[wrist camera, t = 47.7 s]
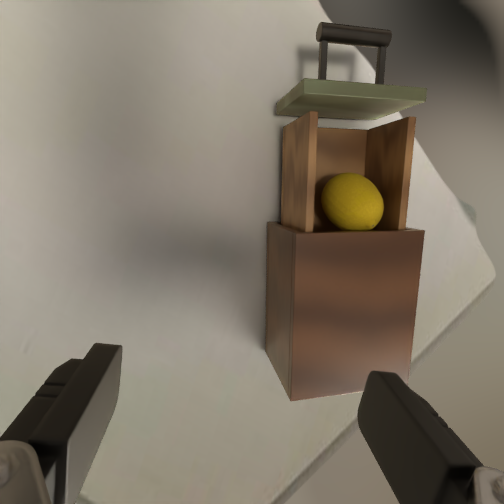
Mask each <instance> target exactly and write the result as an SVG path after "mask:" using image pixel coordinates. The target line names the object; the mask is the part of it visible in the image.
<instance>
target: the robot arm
mask: <svg viewBox="0 0 504 504" xmlns="http://www.w3.org/2000/svg"><path fill="white" fill-rule="evenodd" d="M121 362H122V346H121V345H113V344H102V343H95V344H94V345H93V346H92V348H91V349H90V351H89V352H88V353H87V355H86V356H85V358H84V359H70V360H69V361H67V362H65V363H64V364H62V365H61V366H59V367H57V368H56V369H55V370H54V371H53V372H52V374H51V375H50V376H49V377H48V379H47V380H46V381H45V383H44V385H42V386H41V387H40V388H39V390H38V391H37V392H36V394H35V396H33V397H32V398H31V400H30V401H29V402H28V403H27V405H26V406H25V407H24V408H23V410H22V411H21V412H20V413H19V415H18V416H17V417H16V418H15V420H14V421H13V422H12V423H11V425H10V426H9V427H8V428H7V430H6V431H5V432H4V433H3V435H2V436H1V437H0V504H75V502H76V500H77V498H78V495H79V493H80V491H81V488H82V486H83V484H84V481H85V479H86V476H87V474H88V472H89V469H90V467H91V465H92V462H93V460H94V458H95V455H96V453H97V450H98V448H99V446H100V443H101V441H102V439H103V436H104V434H105V432H106V429H107V427H108V424H109V422H110V420H111V417H112V415H113V413H114V410H115V407H116V403H117V399H118V394H119V385H120V374H121ZM358 424H359V428H360V430H361V432H362V434H363V436H364V438H365V440H366V442H367V443H368V445H369V447H370V449H371V451H372V453H373V455H374V457H375V458H376V460H377V462H378V464H379V466H380V468H381V470H382V472H383V473H384V475H385V477H386V479H387V481H388V483H389V485H390V486H391V488H392V490H393V492H394V494H395V496H396V498H397V499H398V501H399V503H400V504H504V472H503V471H500V470H498V469H495V468H491V467H485V466H483V464H482V463H481V462H480V461H479V460H478V459H477V458H476V457H475V455H474V454H473V453H472V452H471V451H470V450H469V448H467V446H466V445H465V444H464V443H463V442H462V441H461V440H460V438H459V437H458V436H457V435H456V434H455V433H454V432H453V430H452V429H451V428H448V425H447V424H446V422H445V421H444V420H443V419H442V418H441V417H439V416H438V413H437V412H436V411H435V410H434V409H433V408H432V407H431V405H430V404H429V403H428V402H427V401H426V400H424V399H423V398H422V397H420V396H419V395H418V394H416V393H415V392H414V391H412V390H411V389H410V388H409V387H408V386H407V385H406V383H405V382H404V381H403V380H402V379H401V378H400V376H399V375H398V374H396V373H394V372H384V371H371V372H370V373H369V375H368V378H367V381H366V385H365V388H364V391H363V395H362V398H361V401H360V405H359V408H358Z"/></svg>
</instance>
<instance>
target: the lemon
mask: <svg viewBox="0 0 504 504" xmlns="http://www.w3.org/2000/svg"><path fill="white" fill-rule="evenodd" d="M321 203H322V208H323V210H324V212H325V214H326V216H327V217H328V219H329V220H330V221H331V222H332V223H333V224H334V225H335V226H337V227H338V228H340V229H341V230H343V231H369V230H371V229H372V228H374V227H375V226H376V225H377V224H378V223H379V221H380V220H381V217H382V215H383V210H384V204H383V199H382V196H381V194H380V193H379V191H378V189H377V188H376V186H375V185H374V184H373V183H372V182H371V181H370V180H368V179H367V178H365V177H364V176H362V175H360V174H356V173H352V172H348V173H341V174H338V175H336V176H334V177H333V178H332V179H330V180H329V181H328V182H327V184H326V185H325V187H324V189H323V191H322V196H321Z"/></svg>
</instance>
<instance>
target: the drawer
mask: <svg viewBox="0 0 504 504" xmlns="http://www.w3.org/2000/svg"><path fill="white" fill-rule="evenodd" d="M391 38H392V33H391V31H390V30H383V29H376V28H367V27H359V26H349V25H341V24H333V23H325V22H320V23H319V25H318V28H317V32H316V40H317V41H318V42H320V46H319V70H318V79H308V78H304V79H303V80H302V81H301V82H300V83H298V84H297V85H296V86H295V87H294V88H293V89H292V90H291V91H290V92H289V93H287V94H286V95H285V96H284V97H283V98H282V99H281V100H280V101H279V102H278V103H277V112H276V114H277V115H293V116H301V117H299V118H298V119H296V120H295V121H293V122H291V123H290V124H288V125H286V126H285V127H283V156H282V199H281V225H283V226H285V227H288V228H291V229H294V230H296V231H299V232H329V231H343V230H341V229H340V228H338V227H337V226H335V225H334V224H333V223H332V222H331V221H330V220H329V219H328V217H327V216H326V214H325V212H324V210H323V208H322V203H321V196H322V191H323V189H324V187H325V185H326V184H327V182H328V181H329V180H330V179H332V178H333V177H334V176H336V175H338V174H341V173H348V172H352V173H356V174H360V175H362V176H364V177H365V178H367V179H368V180H370V181H371V182H372V183H373V184H374V185H375V186H376V188H377V189H378V191H379V193H380V194H381V196H382V199H383V204H384V210H383V215H382V217H381V220H380V221H379V223H378V224H377V225H376V226H375V227H374V228H372V229H371V230H369V231H375V230H405V228H406V218H407V207H408V197H409V186H410V176H411V166H412V155H413V145H414V134H415V123H416V117H406V118H403V119H400V120H397V121H394V122H391V123H387V124H384V125H381V126H378V127H375V128H372V129H369V130H359V129H339V128H318V127H317V125H318V117H329V118H348V119H366V120H376V119H379V118H381V117H384V116H387V115H390V114H392V113H395V112H398V111H401V110H404V109H406V108H409V107H412V106H415V105H418V104H420V103H423V102H425V101H426V92H427V88H419V87H408V86H394V85H384V72H385V59H386V48H387V47H388V46H389V43H390V41H391ZM328 43H335V44H344V45H354V46H364V47H373V48H378V50H377V64H376V78H375V84H370V83H358V82H345V81H333V80H326V69H327V47H328Z"/></svg>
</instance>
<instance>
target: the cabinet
mask: <svg viewBox="0 0 504 504" xmlns="http://www.w3.org/2000/svg"><path fill="white" fill-rule="evenodd" d="M424 233H425V231H424V230H418V229H413V228H407V227H406V228H405V230H375V231H329V232H299V231H296V230H294V229H291V228H288V227H285V226H283V225H281V222H268V223H267V282H266V348H265V352H266V354H267V356H268V358H269V360H270V362H271V364H272V365H273V367H274V369H275V371H276V373H277V375H278V377H279V379H280V381H281V383H282V385H283V387H284V389H285V391H286V393H287V395H288V397H289V399H290V401H296V400H304V399H311V398H319V397H327V396H334V395H342V394H349V393H357V392H363V391H364V388H365V385H366V381H367V378H368V375H369V373H370V372H371V371H384V372H394V373H396V374H398V375H399V376H400V378H401V379H402V380H403V381H404V382H405V383H406V385H407V386H408V381H409V372H410V363H411V354H412V344H413V335H414V326H415V316H416V307H417V298H418V289H419V279H420V270H421V261H422V251H423V242H424Z"/></svg>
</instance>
